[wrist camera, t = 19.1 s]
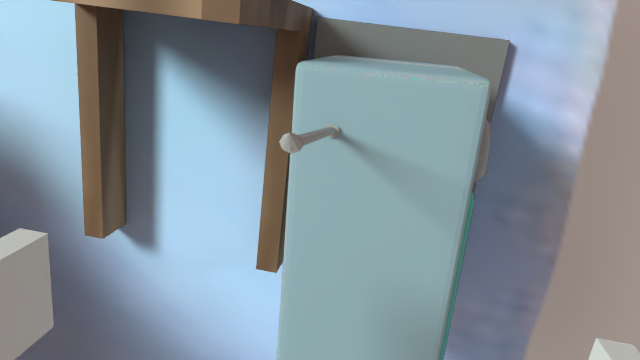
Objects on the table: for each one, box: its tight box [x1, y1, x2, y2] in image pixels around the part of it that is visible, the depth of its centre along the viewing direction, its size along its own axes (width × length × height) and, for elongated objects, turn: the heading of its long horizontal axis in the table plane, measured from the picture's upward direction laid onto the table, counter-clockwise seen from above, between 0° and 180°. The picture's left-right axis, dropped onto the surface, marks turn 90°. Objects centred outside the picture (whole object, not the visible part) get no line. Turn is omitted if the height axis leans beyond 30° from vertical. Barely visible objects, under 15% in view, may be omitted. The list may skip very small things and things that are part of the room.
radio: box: [277, 55, 491, 360], centre depth 22 cm, size 16×9×20 cm, turn 175°
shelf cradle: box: [53, 0, 313, 273], centre depth 27 cm, size 15×18×14 cm
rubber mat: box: [313, 17, 510, 193], centre depth 32 cm, size 12×19×1 cm, turn 173°
